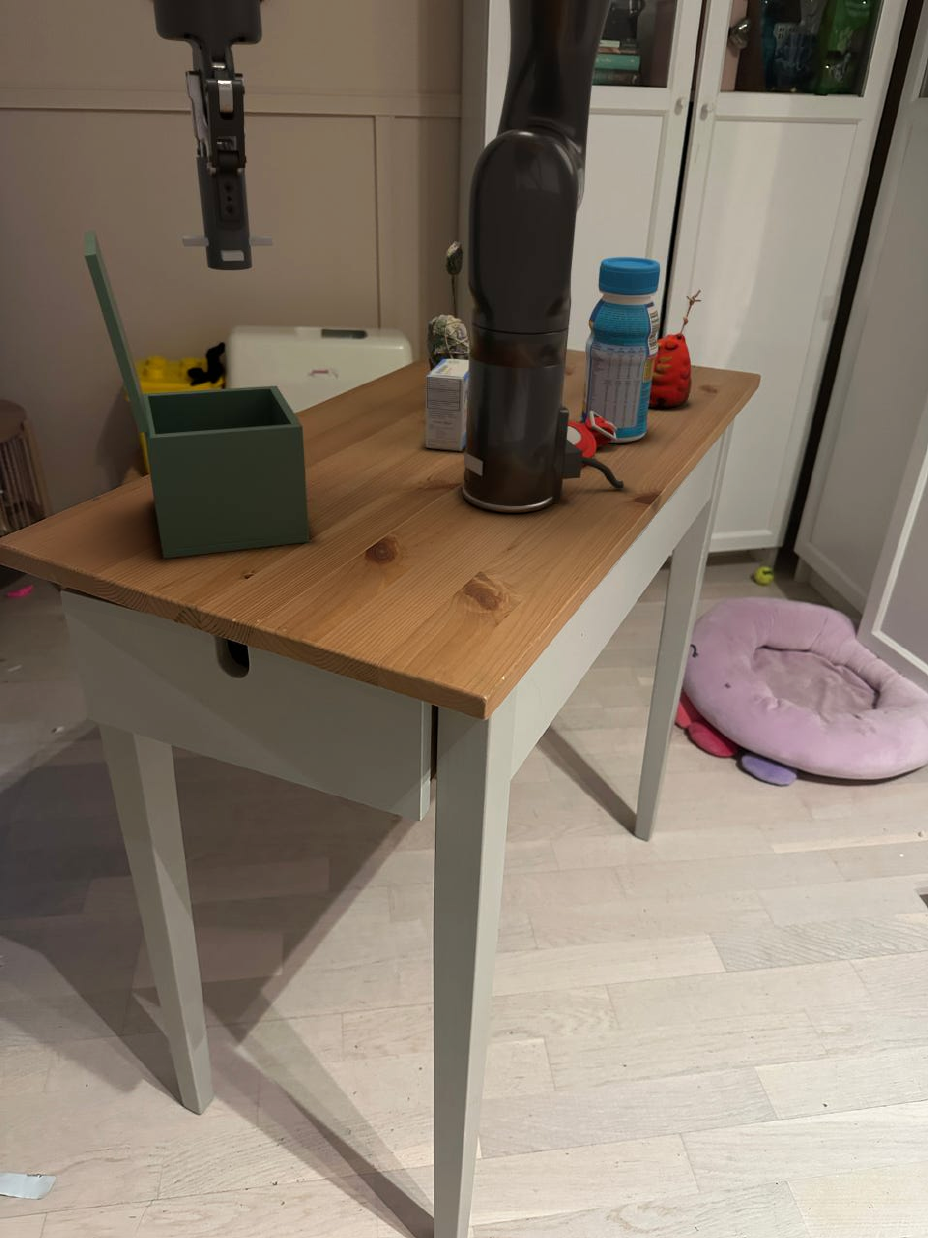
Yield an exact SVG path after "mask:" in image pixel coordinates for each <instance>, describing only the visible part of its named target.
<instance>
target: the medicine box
mask: <svg viewBox="0 0 928 1238" xmlns="http://www.w3.org/2000/svg"><path fill="white" fill-rule="evenodd" d="M468 367H469V360H460V359H442V360H441V361H440V363H439V364H438V365H437V366H436V367H435V368H434V369H433V370H432V371H431V370H430V372H429V373H428V374H427V375H426V376H425V447H426V448H428V449H435V450H442V451H453V452H462V451H463V449H464V448H465V443H466V418H467V392H468Z"/></svg>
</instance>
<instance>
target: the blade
mask: <svg viewBox="0 0 928 1238" xmlns="http://www.w3.org/2000/svg"><path fill="white" fill-rule="evenodd" d="M207 163H208V158H207V156H200V157H199V156H196V168H197V169H196V170H197V177H198V187H199V198H200V207H201V218H202V227H203V235H181V239H182V240H181V241H182V244H183V246H184V247H205V257H206V265H207V268H209V269H212V270H217V271H243V270H250V269H251V268H252V267H253V258H252V247H254V246H255V247H256V246H257V247H258V246H259V247H260V246H261V247H262V246H263V247H264V246H265V247H266V246H269V247H270V246H273V245H274V243H273V237H271V236H270V235H269V234H252V235H251V233H250V220H249V219H250V217H249V206H248V195H247V193H248V192H247V191H248V190H247V180H246V167H245V168H244V171H243V176H237V177H241V185H242V198H243V210H244V223H245V224H244V227H243V228H242V229H240V230H221V229H219V228H218V227H217V226H216V224H215V219H214V208H213V198H212V187H211V176H210V174H209V170H207Z"/></svg>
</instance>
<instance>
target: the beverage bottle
mask: <svg viewBox="0 0 928 1238" xmlns="http://www.w3.org/2000/svg"><path fill="white" fill-rule="evenodd" d="M660 276H661V263H660V262H658V261H657V260H655V259H649V258H643V257H633V256H617V257H616V256H615V257H608V258H604V259H603V260H601V262H600V265H599V272H598V283H597V284H598V291H599V293H600V294H603V295H602V296H601V298H600V299H599V300H598V301H597V303H596V304H595V306H594V307H593V310H592V311H591V313H590V316H589V319H588V327H589V330H590V333H589V335H588V337H587V339H586V341H585V348H584V349H585V350H584V351H585V369H584V380H583V381H584V382H583V394H582V405H581V415H580V420H579V421H580V422H579V423H585V420H586V419H587V418H590V415H589V412H590V411H593V412H595V413H596V414H598V415H599V416H601V417H603V418H605V419H607V420H608V421H609V422H611V423H612V424H613V425H614V426H615V427H616V428H617V431H615V434H616V438H617V440H616V441H613V440H611V441H610V442H609V443H610V444H611V443H612V444H613V443H614V444H622V443H631V442H635V441H638V440H640V439H642V438H643V437H645V435H646V433H647V430H648V429H647V428H648V413H649V406H648V405H649V398H650V390H651V382H652V375H653V368H654V361H655V358H656V357H657V353H658V343H657V341H658V340H657V336H656V335H657V333H658V332H659V330H660V327H661V323H660V316H659V312H658V309H657V307H656V305H655V302H654V300H653V299H652V297H653V296H656V294H657V293H658V289H659V283H660Z"/></svg>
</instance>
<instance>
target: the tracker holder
mask: <svg viewBox="0 0 928 1238" xmlns="http://www.w3.org/2000/svg"><path fill="white" fill-rule="evenodd" d="M589 415H590V418H587V419H586V420H585V423H580V422H575V421H573V420H569V421H568V432H567V440H568V441H570V442H571V443H572V444H574V445H575V446H576V447H578V448H579V449H581V450H582V451H583V454H582V456H584V457H588V458H591V459H593V458H594V455H595V454H596V451H597V448H598V447H603V446H605V445H606V444H609V443H611V442H610V441H611V440H613V441H616V440H617V438H616V434H615V431H617V428H616V427H615V426H614V425H613V424H612V423H611V422H609V421H608V420H607V419H605V418H603V417H601V416H599V415H598V414H596V413H595V412H593V411H590V412H589ZM583 466H585V465H584V464H581V467H583Z"/></svg>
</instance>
